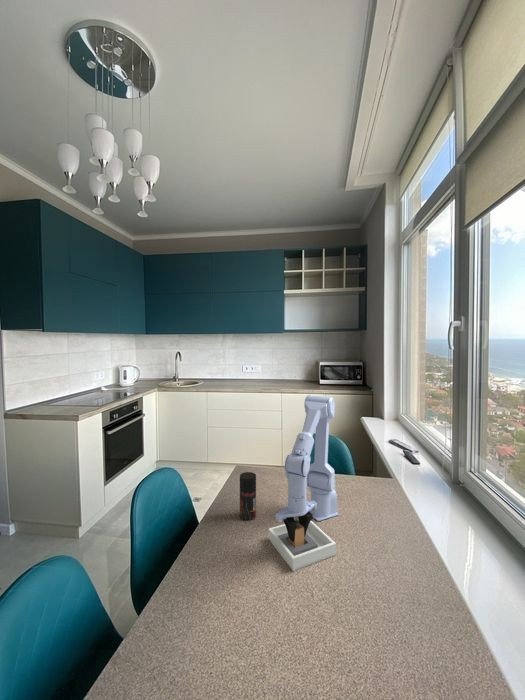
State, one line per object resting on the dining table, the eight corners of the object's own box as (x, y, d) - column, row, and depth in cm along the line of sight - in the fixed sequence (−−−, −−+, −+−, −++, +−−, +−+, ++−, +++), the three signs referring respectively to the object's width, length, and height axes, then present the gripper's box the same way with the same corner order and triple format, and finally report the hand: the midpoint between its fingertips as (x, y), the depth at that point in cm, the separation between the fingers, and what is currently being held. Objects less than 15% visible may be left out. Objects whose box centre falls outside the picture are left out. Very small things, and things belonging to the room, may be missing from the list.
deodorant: (253, 521, 106) (253, 479, 106) (237, 519, 108) (237, 478, 107) (257, 512, 112) (257, 472, 112) (242, 510, 113) (242, 471, 113)
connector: (297, 540, 95) (297, 516, 95) (304, 546, 92) (304, 522, 92) (288, 544, 93) (288, 520, 93) (295, 550, 90) (294, 525, 90)
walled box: (307, 527, 103) (307, 517, 103) (336, 554, 90) (336, 543, 90) (268, 539, 97) (268, 528, 97) (292, 571, 83) (293, 558, 83)
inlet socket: (301, 534, 99) (301, 528, 98) (317, 551, 90) (317, 544, 90) (277, 542, 95) (277, 535, 95) (292, 560, 87) (292, 553, 86)
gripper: (307, 483, 99) (307, 523, 100) (270, 494, 92) (270, 537, 92) (321, 492, 93) (321, 535, 93) (283, 504, 86) (283, 551, 86)
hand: (297, 537), depth 92 cm, fingers closed on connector, 3 cm apart
